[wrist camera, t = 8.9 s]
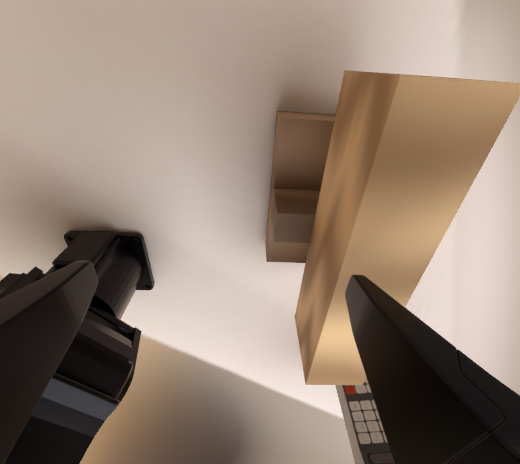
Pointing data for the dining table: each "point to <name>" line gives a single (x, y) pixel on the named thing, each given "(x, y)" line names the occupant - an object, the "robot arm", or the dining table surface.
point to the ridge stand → (296, 183)
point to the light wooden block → (389, 198)
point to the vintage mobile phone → (363, 425)
